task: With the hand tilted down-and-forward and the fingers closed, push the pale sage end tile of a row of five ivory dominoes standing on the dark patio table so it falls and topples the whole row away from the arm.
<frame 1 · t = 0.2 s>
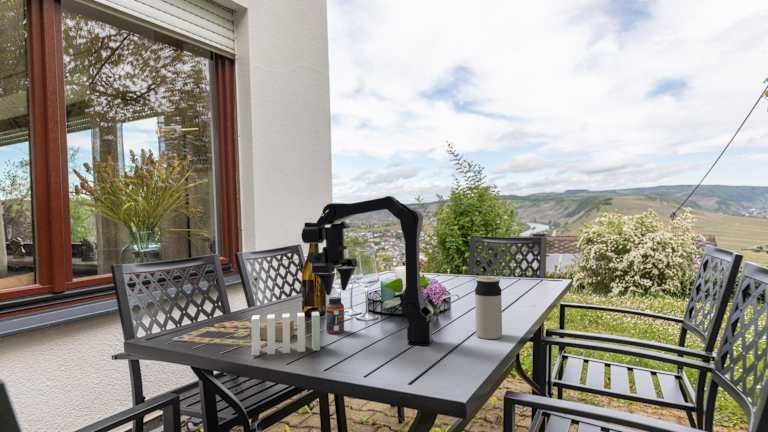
hand: (336, 292, 141), 14 cm above the table, tool pointing down, fingers open, 9 cm apart
travel mug: (488, 336, 139), on the table
supplement bottle: (335, 332, 147), on the table
domino 5: (256, 352, 126), on the table
domino 2: (301, 349, 129), on the table
domino 1: (316, 347, 130), on the table
pile of dominoes: (243, 335, 148), on the table
domino 4: (271, 351, 127), on the table
domino 3: (286, 350, 128), on the table
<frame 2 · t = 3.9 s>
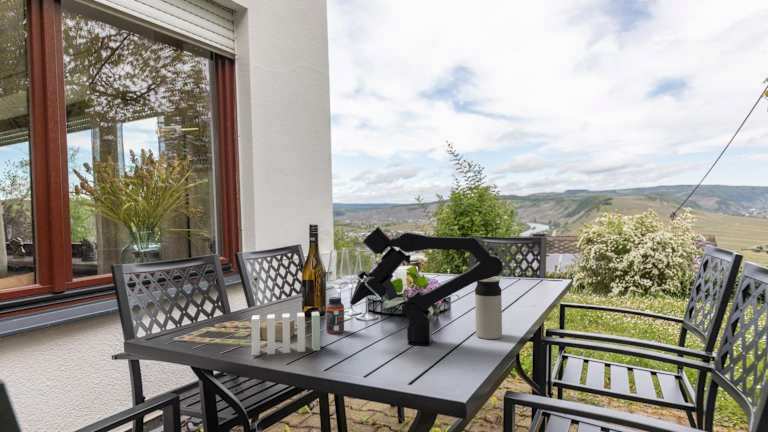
hand: (351, 304, 132), 12 cm above the table, tool tilted 45°, fingers closed
nothing on the table moved.
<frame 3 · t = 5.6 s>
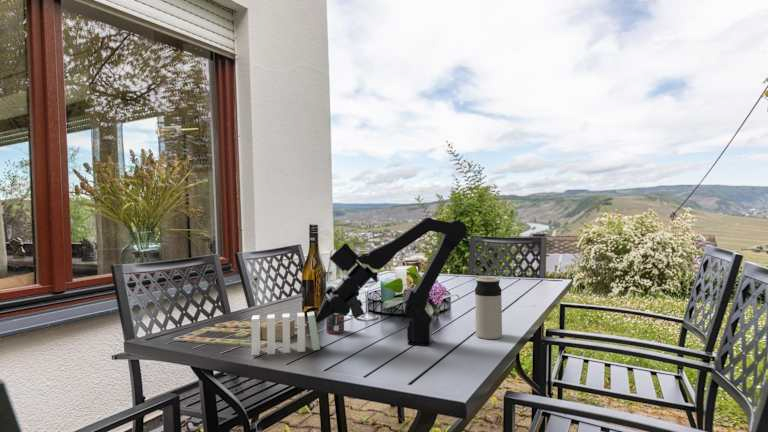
hand: (316, 321, 130), 8 cm above the table, tool tilted 45°, fingers closed
domino 1: (316, 347, 130), on the table, tilted 8°
everything else where it was.
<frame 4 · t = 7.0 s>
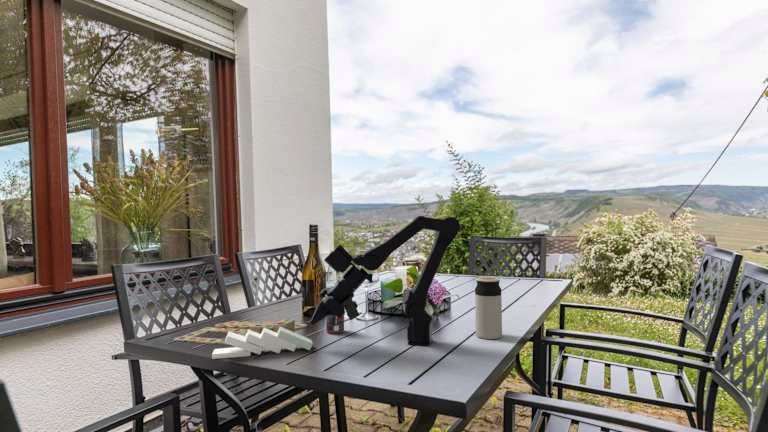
hand: (311, 323, 129), 7 cm above the table, tool tilted 45°, fingers closed
domino 5: (251, 352, 126), on the table, tilted 90°
domino 2: (294, 346, 128), point 1 cm above the table, tilted 63°, touching domino 1, domino 3
domino 1: (310, 345, 129), point 1 cm above the table, tilted 63°, touching domino 2
domino 4: (261, 348, 126), point 1 cm above the table, tilted 66°
domino 3: (279, 347, 127), point 1 cm above the table, tilted 63°, touching domino 2
everything else where it was.
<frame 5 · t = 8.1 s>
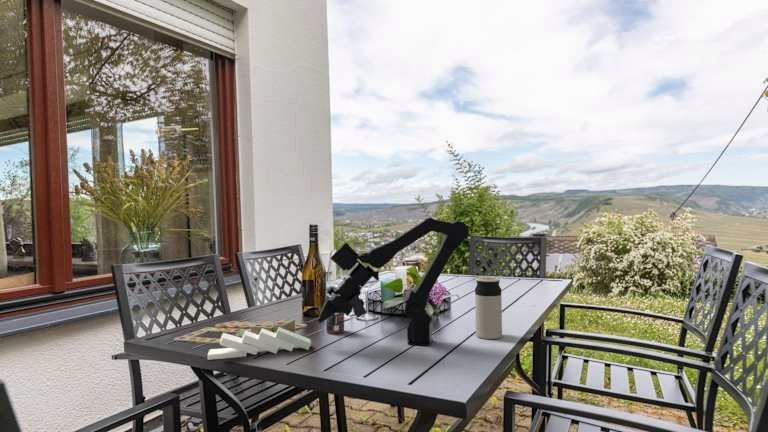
hand: (318, 321, 130), 7 cm above the table, tool tilted 45°, fingers closed
domino 5: (246, 352, 125), on the table, tilted 90°
domino 1: (309, 344, 130), point 1 cm above the table, tilted 65°, touching domino 2
domino 4: (256, 348, 126), point 1 cm above the table, tilted 67°, touching domino 3
domino 3: (277, 347, 127), point 1 cm above the table, tilted 65°, touching domino 2, domino 4
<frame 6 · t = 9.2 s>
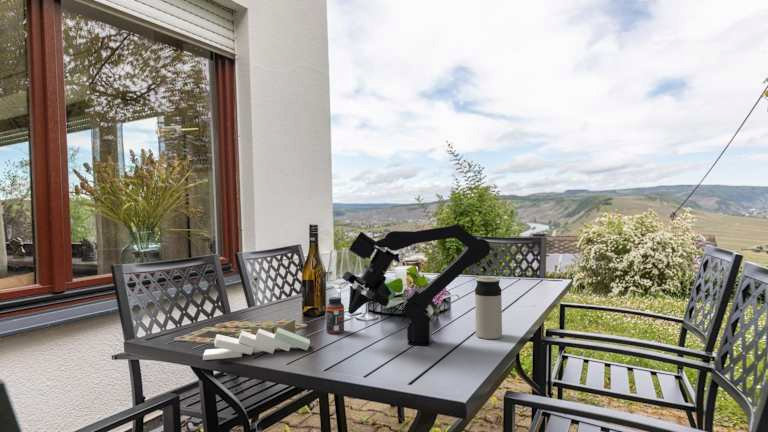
hand: (349, 313, 132), 9 cm above the table, tool tilted 35°, fingers closed
domino 5: (242, 352, 125), on the table, tilted 90°
domino 1: (308, 345, 129), point 1 cm above the table, tilted 66°, touching domino 2
domino 4: (251, 348, 125), point 1 cm above the table, tilted 70°, touching domino 3
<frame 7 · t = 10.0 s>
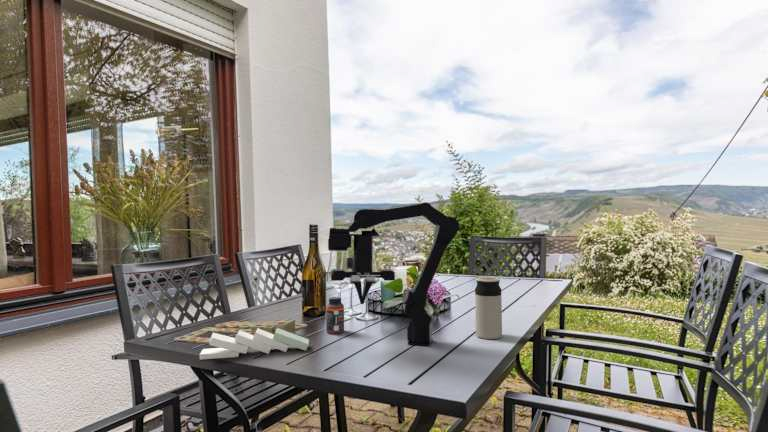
hand: (361, 303, 133), 12 cm above the table, tool pointing down, fingers closed
domino 2: (287, 346, 128), point 1 cm above the table, tilted 65°, touching domino 3
domino 1: (307, 345, 129), point 1 cm above the table, tilted 67°
domino 4: (246, 347, 125), point 2 cm above the table, tilted 69°, touching domino 3
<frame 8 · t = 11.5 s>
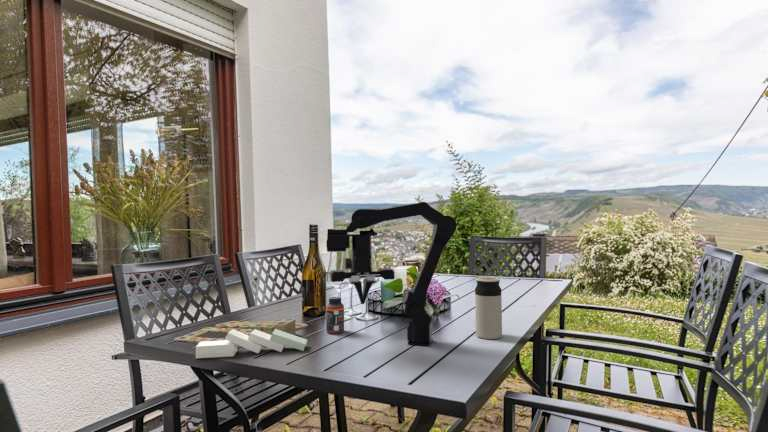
hand: (362, 303, 133), 12 cm above the table, tool pointing down, fingers closed
domino 5: (235, 352, 126), on the table, tilted 90°, touching domino 4
domino 2: (284, 346, 128), point 1 cm above the table, tilted 68°, touching domino 1, domino 3
domino 1: (305, 345, 129), point 1 cm above the table, tilted 69°, touching domino 2
domino 4: (235, 345, 126), point 2 cm above the table, tilted 90°, touching domino 5
domino 3: (261, 348, 127), point 1 cm above the table, tilted 65°, touching domino 2
everything else where it was.
at the end: domino 5 tilted 90°; domino 1 tilted 69° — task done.
